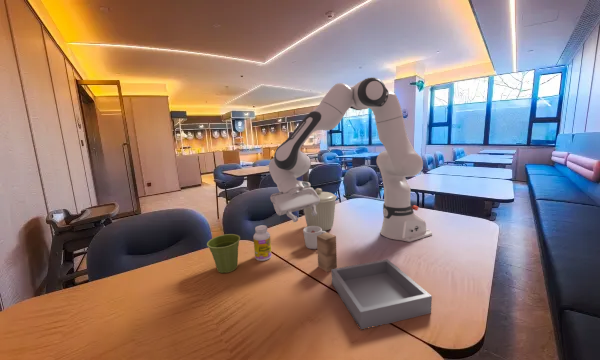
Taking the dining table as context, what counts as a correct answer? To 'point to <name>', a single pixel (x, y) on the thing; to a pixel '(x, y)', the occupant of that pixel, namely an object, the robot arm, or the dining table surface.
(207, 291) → the dining table surface
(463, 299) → the dining table surface
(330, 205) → the canister
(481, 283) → the dining table surface
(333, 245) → the walnut block
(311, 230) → the cup
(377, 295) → the bin
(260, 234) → the supplement bottle
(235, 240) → the plant pot
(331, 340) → the dining table surface
